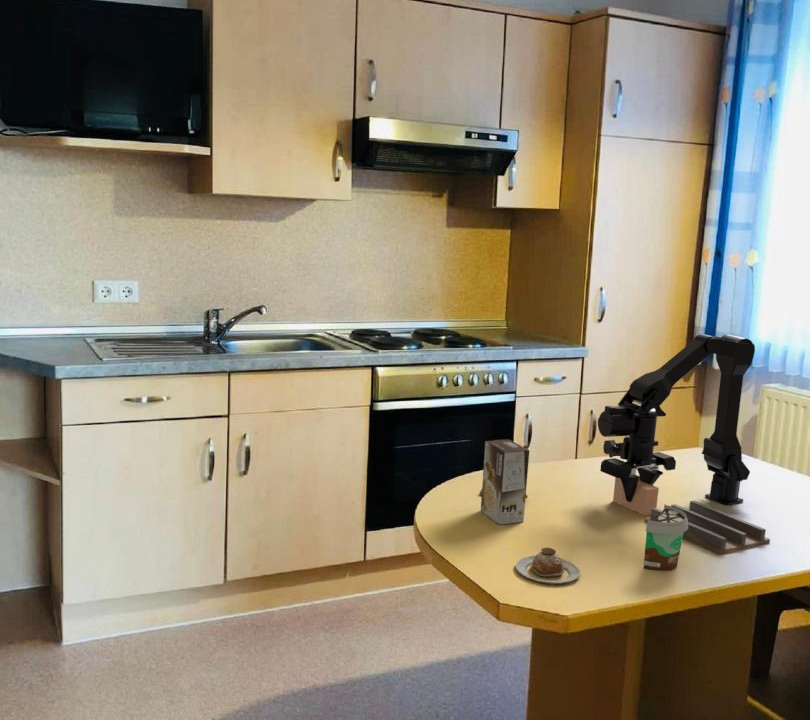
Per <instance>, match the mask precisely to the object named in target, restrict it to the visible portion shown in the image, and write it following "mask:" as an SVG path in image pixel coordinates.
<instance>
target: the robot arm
mask: <svg viewBox="0 0 810 720" xmlns="http://www.w3.org/2000/svg"><path fill="white" fill-rule="evenodd" d="M755 353H756V347H755V344H754V343H753V341H752V340H751V339H749V338H745V337H743V336H737V335H734V334H728V333H727V334H724V335H722V336H721V337H720V336H714V335H708V334H704V333H699V334H697V335H696V336H695V337H694V338H693V340H692V341H691V342H690V343H688V344H687V345H686V346H684V347H683V348H682V349H681V350H680V351H679V352H677V353H676V354H675V355H674V356H672V357H671V358H670V359H669V360H668V361H667V362H665V363H664V364H663V365H662V366H660V367H659V368H657V369H656V370H654V371H650V372H647V373H645V374H643V375H641V376H639V377H638V378H635V379H634V380H633V381H632V382H631V383H630V385H629V389H628V390H627V391H626V392H625V393H624V395H623V397H621V399H620V401H619V402H618V404H617V406H612V405H605V406H604V411H602V412H601V413H600V415H599V418H597V427H598V431H599V433H600V435H601V436H602V437H604V438H609V437H610V438H611V437H624V438H623V440H622V441H623V442H616V440H615V439H609V440H604V443H603V445H602V446H603V447H602V449H603V453H604V454H605V455H608V457H609V458H607V459H603V460H602V461H601V463H600V472H602V473H604V474H607V475H609V476H611V477H614V478H615V477H616V478H620V479H621V482H622V485H623V489H624V493H625V497H626V500H627V501H628V502H631V501H632V498H633V496H634V493H635V490H636V487H637V484H638V481H639V480H640V481H643V482H645V483H648V484H650V485H653V486H654V484H655V483H656V482H657V480H658V479H659V478H660V476H662V475H663V474H664V472H663V471H661V470H660V467H659V466H663V468H664V470H665V471H675V470H676V464H677V461H676V458H675V457H674V456H672V455H670V454H666V453H664V452H661V451H655V452H654V448H655V447H657V446H659V441H658V440H656V429H657V421H658V417H666V416H667V414H666V412H665V411H664V410H663V409H662V407H661V405H662V404H664V403H665V401H666V400H667V399H668V397H669V396H670V394H671V391H672V389H673V387H674V386H675V385H676V384H677V383H678V382H680V380H681V379H683V378H684V377H685V376H686V375H688V374H689V373H690V372H691V371H693V370H694V368H696V367H697V366H698V365H700V364H701V363H703V361H704V360H705V359H707V358H708V357H710V355H712V354H715V360H716V363H717V367H718V368H719V371H720V380H719V388H718V397H717V405H716V407H717V408H716V414H715V415H716V416H715V424H714V431H713V433H712V434H711V435H710V437H709V438H708V437H705V438H703V449H702V451H701V454H702V455H703V461H704V462H705V463H706V467H707V471H710V472H713V474H712V480H711V484H710V493H706V494H704V497H705V498H707V499H710V500H712V501H715V502H718V503H720V504H722V505H725V506H728V505H732V504H738V503H743V502H744V499H743V498H740V497H739V493H740V485H741V482H743V481H745V480H746V481H747V480H748V479H749V475H750V473H751V472H750V470H749V468H748V467H747V465H746V464H745V463H744V461H743V456H742V454H743V453H742V445H741V443H740V440H739V438H738V434H737V433H738V426H739V424H738V423H739V415H740V407H741V399H742V390H743V382H744V376H745V374H746V373H747V371H748V370H749V369H750V368H751V366H752V364H753V360H754V357H755ZM613 457H614V458H613ZM616 457H619V458H616ZM621 459H622V460H621ZM623 460H624V461H623ZM625 460H626V461H625ZM637 473H638V475H637Z"/></svg>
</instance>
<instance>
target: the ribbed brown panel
mask: <svg viewBox="0 0 810 720" xmlns="http://www.w3.org/2000/svg"><path fill="white" fill-rule="evenodd" d="M670 506H672V507H675V508H677V509H679V510H681V511H683V512H684V513H685V514H686V517H687V519H688V529H687V530H686V531H685V532H684V534H683V539H682V540H685V541H687V542H690V543H692V544H693V545H696V546H697V547H700V548H702V549H705V550H707V551H709V552H712V553H713V554H716V555H718V556H720V555H724V554H727V553H728V554H729V553H733V552H736V551H742V550H745V549H750V548H754V547H757V546H762V545H766V544H770V542H771V539H770V538H768V537H766V530H767V529H766V528H763V527H761V526H759V525H757V524H754V523H751V522H749V521H746V520H743V519H741V518H739V517H737V516H734V515H731V514H728V513H727V512H724V511H722V510H718V509H716V508H713V507H711V506H709V505H706V504H703V503H701V502H698V501H696V500H690V501H689V507H688V508H685V507H684V506H680V505H678V504H676V503H673V504H671V505H670ZM662 511H663V509H662V510H661V509H660V508H658V507H656V508H652V509H651V514H650V516H648V517H645V518H644V522H645V523H647V521H648V520H650V521H652V520H653V519H654V518H655V517H656V515H657V514H659V513H661V512H662Z"/></svg>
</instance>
